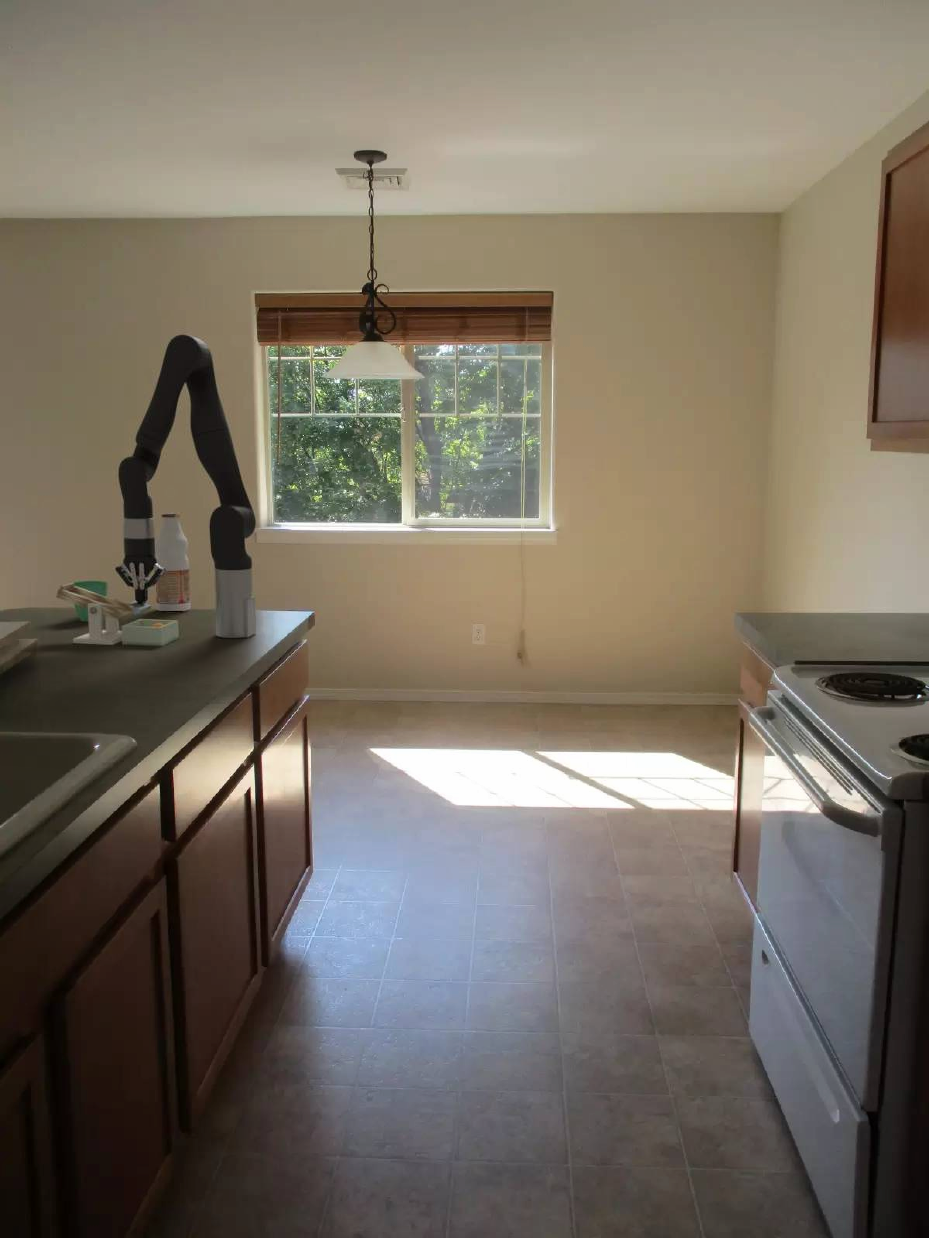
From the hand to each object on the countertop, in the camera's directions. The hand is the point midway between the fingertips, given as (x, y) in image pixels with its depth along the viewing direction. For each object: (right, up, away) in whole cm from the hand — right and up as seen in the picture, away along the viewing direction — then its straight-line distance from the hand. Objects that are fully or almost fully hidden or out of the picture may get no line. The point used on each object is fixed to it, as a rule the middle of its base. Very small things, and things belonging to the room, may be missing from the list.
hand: (141, 603), depth 258 cm
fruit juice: (-2, -2, +34) cm, 34 cm away
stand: (-6, -9, -9) cm, 14 cm away
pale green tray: (+6, -10, -11) cm, 16 cm away
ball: (+8, -7, -12) cm, 16 cm away
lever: (-7, 0, -6) cm, 9 cm away
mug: (-20, -4, +18) cm, 27 cm away
